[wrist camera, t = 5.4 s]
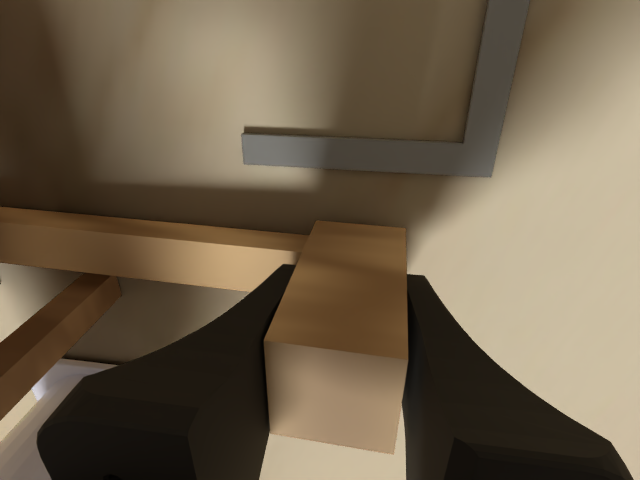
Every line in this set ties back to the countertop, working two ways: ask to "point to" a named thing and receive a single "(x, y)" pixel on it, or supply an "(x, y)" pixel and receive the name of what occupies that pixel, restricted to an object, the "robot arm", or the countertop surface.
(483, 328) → the countertop surface
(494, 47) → the tape bracket
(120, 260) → the oak crook
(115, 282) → the wooden bench
